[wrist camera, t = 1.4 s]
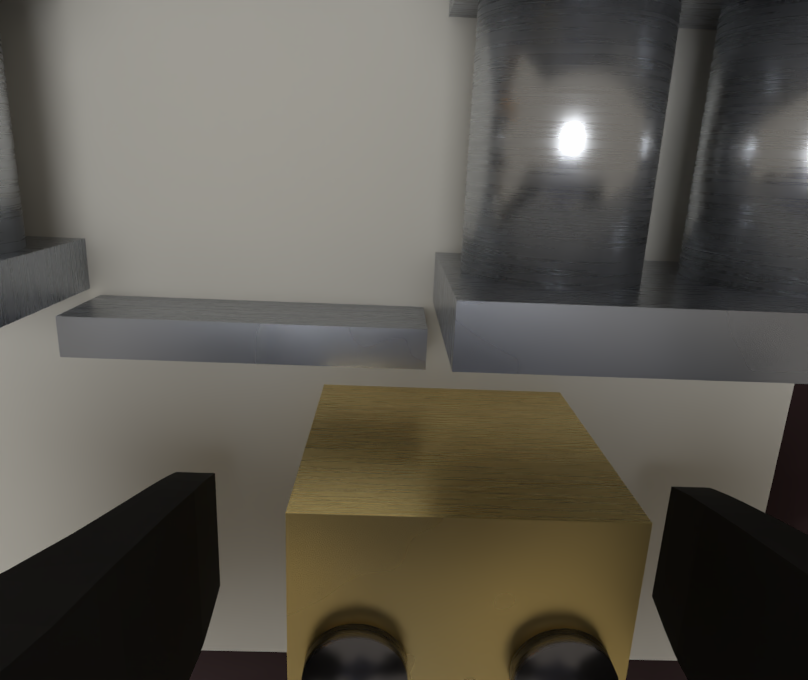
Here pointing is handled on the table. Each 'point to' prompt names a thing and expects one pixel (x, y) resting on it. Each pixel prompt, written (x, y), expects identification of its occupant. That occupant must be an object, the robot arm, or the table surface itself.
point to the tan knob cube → (459, 541)
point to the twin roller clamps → (539, 218)
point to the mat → (290, 264)
